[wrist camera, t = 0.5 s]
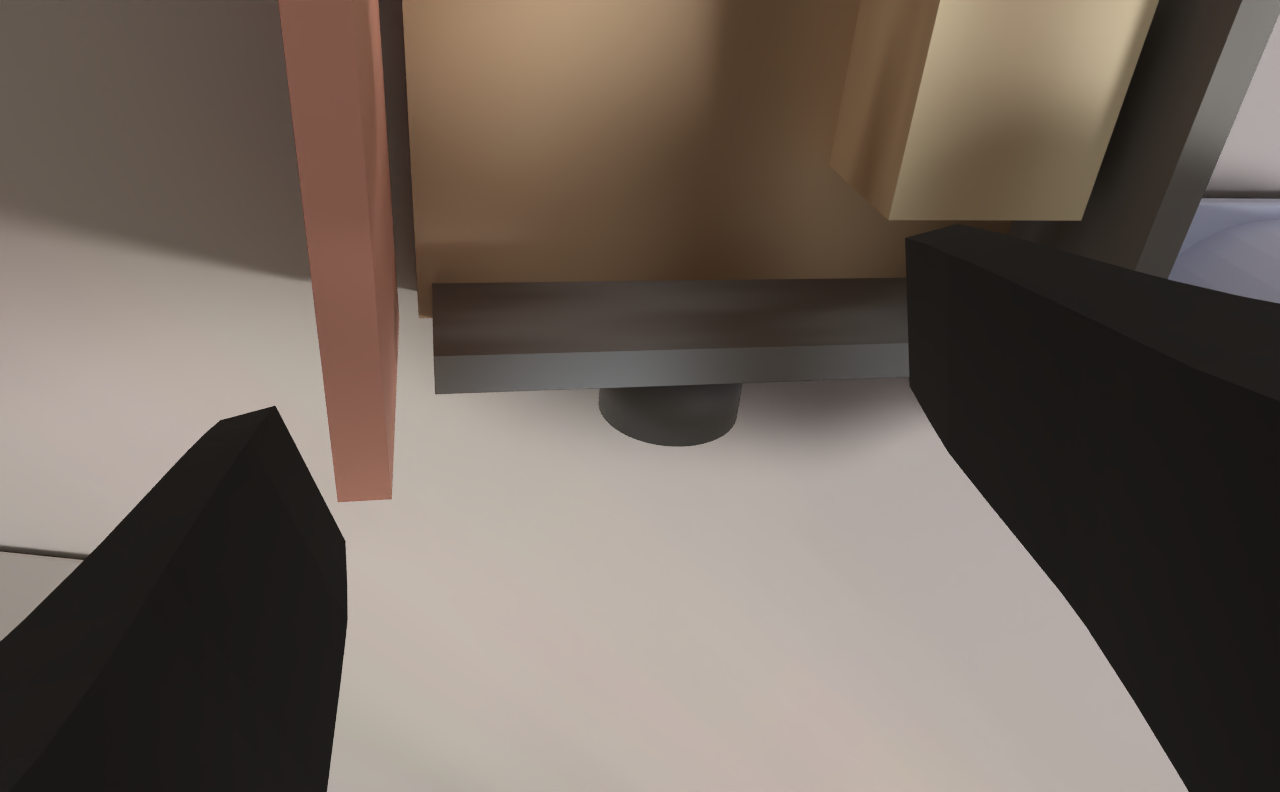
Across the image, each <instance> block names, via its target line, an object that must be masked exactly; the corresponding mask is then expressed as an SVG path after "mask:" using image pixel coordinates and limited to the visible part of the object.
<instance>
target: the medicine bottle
mask: <svg viewBox="0 0 1280 792" xmlns="http://www.w3.org/2000/svg"><path fill="white" fill-rule="evenodd" d="M83 561H84V560H77V559H67V558H58V557H48V556H38V555H28V554H19V553H9V552H0V641H1V640H2V639H3V638H5V637H6V636H7V635H8V634H9V633H10V632H11V631H12V630H13V629H14V628H15V627H16V626H18V625H19V624H20V623H21V622H22V621H23V620H24V619H25V618H26V617H27V616H28V615H29V614H30V613H31V612H32V611H33V610H34V609H35V608H36V607H37V606H38V605H39V604H40V603H41V602H42V601H43V600H44V599H45V598H46V597H47V596H48V595H49V594H50V593H51V592H52V591H53V590H54V589H55V588H56V587H57V586H58V585H59V584H60V583H61V582H62V581H63V580H64V579H66V578H67V577H68V576H69V575H70V574H71V573H72V572H73V571H74V570H75V569H76V568H77V567H78V566H79V565H80V564H81V563H82V562H83Z"/></svg>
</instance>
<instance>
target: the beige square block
mask: <svg viewBox="0 0 1280 792" xmlns="http://www.w3.org/2000/svg"><path fill="white" fill-rule="evenodd" d="M1158 2H1159V0H861V2H860V7H859V13H858V18H857V23H856V28H855V33H854V39H853V44H852V49H851V54H850V59H849V64H848V70H847V75H846V80H845V85H844V90H843V95H842V101H841V106H840V111H839V116H838V121H837V126H836V132H835V137H834V142H833V147H832V152H831V158H830V163H829V166H830V167H831V168H832V169H833V170H834V171H835V172H836V173H838V174H839V175H840V176H841V177H842V178H843V179H844V180H845V181H846V182H847V183H848V184H850V185H851V186H852V187H853V188H854V189H855V190H856V191H857V192H858V193H859V194H860V195H862V196H863V197H864V198H865V199H866V200H867V201H868V202H869V203H870V204H871V205H872V206H873V207H875V208H876V209H877V210H878V211H879V212H880V213H881V214H882V215H883V216H884V217H885V218H887V219H888V220H1045V221H1081V220H1082V217H1083V214H1084V211H1085V208H1086V206H1087V203H1088V200H1089V197H1090V194H1091V191H1092V189H1093V186H1094V183H1095V180H1096V177H1097V174H1098V172H1099V169H1100V166H1101V163H1102V160H1103V157H1104V155H1105V152H1106V149H1107V146H1108V143H1109V141H1110V138H1111V135H1112V132H1113V129H1114V126H1115V124H1116V121H1117V118H1118V115H1119V112H1120V109H1121V107H1122V104H1123V101H1124V98H1125V95H1126V92H1127V90H1128V87H1129V84H1130V81H1131V78H1132V75H1133V73H1134V70H1135V67H1136V64H1137V61H1138V58H1139V56H1140V53H1141V50H1142V47H1143V44H1144V41H1145V39H1146V36H1147V33H1148V30H1149V27H1150V24H1151V22H1152V19H1153V16H1154V13H1155V10H1156V7H1157V5H1158Z"/></svg>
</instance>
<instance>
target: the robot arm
mask: <svg viewBox="0 0 1280 792" xmlns="http://www.w3.org/2000/svg"><path fill="white" fill-rule="evenodd" d="M905 252H906V284H907V316H908V348H909V381H910V387H911V389H912V391H913V393H914V395H915V396H916V398H917V400H918V402H919V403H920V405H921V407H922V409H923V411H924V412H925V414H926V416H927V418H928V419H929V421H930V423H931V425H932V426H933V428H934V430H935V431H936V433H937V434H938V436H939V438H940V439H941V441H942V443H943V444H944V446H945V448H946V449H947V451H948V452H949V454H950V455H951V456H952V457H953V459H954V460H955V461H956V463H957V464H958V465H959V467H960V468H961V469H962V470H963V472H964V473H965V474H966V475H967V477H968V478H969V479H970V480H971V482H972V483H973V484H974V485H975V487H976V488H977V489H978V490H979V492H980V493H981V494H982V495H983V497H984V498H985V499H986V501H987V502H988V503H989V504H990V505H991V507H992V508H993V509H994V510H995V512H996V513H997V514H998V515H999V517H1000V518H1001V519H1002V520H1003V521H1004V523H1005V524H1006V525H1007V526H1008V528H1009V529H1010V530H1011V531H1012V533H1013V534H1014V535H1015V536H1016V537H1017V539H1018V540H1019V541H1020V542H1021V544H1022V545H1023V546H1024V547H1025V549H1026V550H1027V551H1028V552H1029V553H1030V555H1031V556H1032V557H1033V558H1034V560H1035V561H1036V562H1037V563H1038V565H1039V566H1040V567H1041V568H1042V569H1043V571H1044V572H1045V573H1046V574H1047V576H1048V577H1049V578H1050V579H1051V581H1052V582H1053V583H1054V584H1055V585H1056V587H1057V588H1058V589H1059V590H1060V592H1061V593H1062V594H1063V596H1064V597H1065V598H1066V600H1067V601H1068V602H1069V604H1070V605H1071V607H1072V608H1073V609H1074V611H1075V612H1076V613H1077V615H1078V616H1079V617H1080V619H1081V620H1082V621H1083V623H1084V624H1085V626H1086V627H1087V629H1088V630H1089V632H1090V633H1091V635H1092V636H1093V638H1094V639H1095V641H1096V643H1097V644H1098V646H1099V647H1100V649H1101V650H1102V652H1103V653H1104V655H1105V657H1106V658H1107V660H1108V661H1109V663H1110V664H1111V666H1112V667H1113V669H1114V671H1115V672H1116V674H1117V675H1118V677H1119V678H1120V680H1121V681H1122V683H1123V685H1124V686H1125V688H1126V689H1127V691H1128V692H1129V694H1130V695H1131V697H1132V699H1133V700H1134V702H1135V703H1136V705H1137V707H1138V708H1139V710H1140V712H1141V713H1142V715H1143V717H1144V718H1145V720H1146V721H1147V723H1148V725H1149V726H1150V728H1151V730H1152V731H1153V733H1154V735H1155V736H1156V738H1157V740H1158V741H1159V743H1160V745H1161V746H1162V748H1163V749H1164V751H1165V753H1166V754H1167V756H1168V758H1169V759H1170V761H1171V763H1172V764H1173V766H1174V768H1175V769H1176V771H1177V773H1178V774H1179V776H1180V778H1181V779H1182V781H1183V782H1184V784H1185V786H1186V788H1187V789H1188V791H1189V792H1280V199H1234V198H1202V199H1201V201H1200V204H1199V206H1198V208H1197V211H1196V213H1195V216H1194V218H1193V220H1192V223H1191V225H1190V227H1189V230H1188V232H1187V235H1186V237H1185V239H1184V242H1183V244H1182V246H1181V249H1180V251H1179V254H1178V256H1177V258H1176V261H1175V263H1174V265H1173V268H1172V270H1171V273H1170V275H1169V277H1168V279H1165V278H1161V277H1157V276H1153V275H1149V274H1146V273H1142V272H1138V271H1134V270H1130V269H1127V268H1123V267H1119V266H1116V265H1112V264H1108V263H1105V262H1101V261H1098V260H1094V259H1091V258H1087V257H1084V256H1080V255H1077V254H1073V253H1070V252H1066V251H1063V250H1059V249H1056V248H1052V247H1049V246H1045V245H1042V244H1038V243H1035V242H1031V241H1028V240H1024V239H1021V238H1017V237H1013V236H1010V235H1006V234H1002V233H998V232H994V231H990V230H986V229H982V228H977V227H972V226H966V225H960V224H955V225H951V226H947V227H944V228H940V229H936V230H932V231H929V232H925V233H921V234H917V235H914V236H910V237H906V238H905ZM347 619H348V618H347V570H346V547H345V540H344V538H343V536H342V534H341V532H340V530H339V528H338V526H337V524H336V522H335V520H334V518H333V516H332V515H331V513H330V511H329V509H328V507H327V505H326V503H325V501H324V499H323V497H322V495H321V493H320V491H319V489H318V487H317V485H316V484H315V482H314V480H313V478H312V476H311V474H310V472H309V470H308V468H307V466H306V464H305V462H304V460H303V458H302V456H301V454H300V453H299V451H298V449H297V447H296V445H295V443H294V441H293V439H292V437H291V435H290V433H289V431H288V429H287V427H286V425H285V423H284V422H283V420H282V418H281V416H280V414H279V412H278V410H277V408H276V406H273V407H269V408H265V409H261V410H258V411H254V412H250V413H246V414H243V415H239V416H235V417H231V418H228V419H224V420H220V421H219V422H218V423H217V424H216V425H214V426H213V427H212V428H211V429H210V430H209V431H207V432H206V433H205V434H204V435H203V436H202V437H201V438H200V439H199V440H198V441H197V442H196V443H195V444H194V445H193V446H192V447H191V448H190V449H189V450H188V451H187V452H186V453H185V454H184V455H183V456H182V457H181V458H180V459H179V461H178V462H177V463H176V464H175V465H174V466H173V467H172V468H171V469H170V470H169V471H168V472H167V473H166V474H165V475H164V477H163V478H162V479H161V480H160V481H159V482H158V483H157V484H156V485H155V486H154V487H153V488H152V489H151V491H150V492H149V493H148V494H147V495H146V496H145V497H144V498H143V499H142V500H141V501H140V502H139V503H138V504H137V505H136V507H135V508H134V509H133V510H132V511H131V512H130V513H129V514H128V515H127V516H126V517H125V518H124V519H123V520H122V521H121V522H120V524H119V525H118V526H117V527H116V528H115V529H114V530H113V531H112V532H111V533H110V534H109V535H108V536H107V537H106V538H105V540H104V541H103V542H102V543H101V544H100V545H99V546H98V547H97V548H96V549H95V550H94V551H93V552H92V553H91V554H90V555H89V556H88V557H87V558H86V559H85V560H84V561H83V562H82V563H81V564H80V565H79V566H78V567H77V568H76V569H75V570H74V571H73V572H72V573H71V574H70V575H69V576H68V577H67V578H66V579H64V580H63V581H62V582H61V583H60V584H59V585H58V586H57V587H56V588H55V589H54V590H53V591H52V592H51V593H50V594H49V595H48V596H47V597H46V598H45V599H44V600H43V601H42V602H41V603H40V604H39V605H38V606H37V607H36V608H35V609H34V610H33V611H32V612H31V613H30V614H29V615H28V616H27V617H26V618H25V619H24V620H23V621H22V622H21V623H20V624H19V625H18V626H16V627H15V628H14V629H13V630H12V631H11V632H10V633H9V634H8V635H7V636H6V637H5V638H3V639H2V640H1V641H0V792H327V786H328V778H329V770H330V762H331V754H332V746H333V738H334V730H335V722H336V714H337V706H338V698H339V690H340V682H341V673H342V665H343V656H344V647H345V639H346V629H347Z"/></svg>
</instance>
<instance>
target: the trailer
mask: <svg viewBox="0 0 1280 792" xmlns="http://www.w3.org/2000/svg"><path fill="white" fill-rule="evenodd" d="M860 2H861V0H402V8H403V27H404V46H405V65H406V84H407V103H408V122H409V141H410V160H411V179H412V198H413V217H414V236H415V255H416V274H417V293H418V312H419V318H433V350H434V376H435V394H454V393H481V392H509V391H537V390H565V389H592V388H600V392H599V409H600V411H601V414H602V415H603V417H604V418H605V420H606V421H607V422H608V423H609V424H610V425H611V426H613V427H614V428H615V429H617V430H618V431H620V432H621V433H623V434H625V435H627V436H629V437H632V438H634V439H637V440H640V441H643V442H647V443H651V444H656V445H663V446H693V445H699V444H703V443H707V442H710V441H713V440H715V439H718V438H719V437H721V436H723V435H724V434H726V433H727V432H728V431H729V430H730V429H731V428H732V427H733V425H734V424H735V421H736V418H737V412H738V406H739V400H740V394H741V388H742V383H758V382H786V381H814V380H841V379H869V378H897V377H909V348H908V316H907V284H906V252H905V238H906V237H910V236H914V235H917V234H921V233H925V232H929V231H932V230H936V229H940V228H944V227H947V226H951V225H955V224H960V225H966V226H972V227H977V228H982V229H986V230H990V231H994V232H998V233H1002V234H1006V235H1010V236H1013V237H1017V238H1021V239H1024V240H1028V241H1031V242H1035V243H1038V244H1042V245H1045V246H1049V247H1052V248H1056V249H1059V250H1063V251H1066V252H1070V253H1073V254H1077V255H1080V256H1084V257H1087V258H1091V259H1094V260H1098V261H1101V262H1105V263H1108V264H1112V265H1116V266H1119V267H1123V268H1127V269H1130V270H1134V271H1138V272H1142V273H1146V274H1149V275H1153V276H1157V277H1161V278H1165V279H1168V277H1169V275H1170V273H1171V270H1172V268H1173V265H1174V263H1175V261H1176V258H1177V256H1178V254H1179V251H1180V249H1181V246H1182V244H1183V242H1184V239H1185V237H1186V235H1187V232H1188V230H1189V227H1190V225H1191V223H1192V220H1193V218H1194V216H1195V213H1196V211H1197V208H1198V206H1199V204H1200V201H1201V199H1202V197H1203V194H1204V192H1205V189H1206V187H1207V185H1208V182H1209V180H1210V178H1211V175H1212V173H1213V170H1214V168H1215V166H1216V163H1217V161H1218V159H1219V156H1220V154H1221V151H1222V149H1223V147H1224V144H1225V142H1226V140H1227V137H1228V135H1229V132H1230V130H1231V128H1232V125H1233V123H1234V120H1235V118H1236V116H1237V113H1238V111H1239V109H1240V106H1241V104H1242V101H1243V99H1244V97H1245V94H1246V92H1247V90H1248V87H1249V85H1250V82H1251V80H1252V78H1253V75H1254V73H1255V71H1256V68H1257V66H1258V63H1259V61H1260V59H1261V56H1262V54H1263V52H1264V49H1265V47H1266V44H1267V42H1268V40H1269V37H1270V35H1271V33H1272V30H1273V28H1274V25H1275V23H1276V21H1277V18H1278V16H1279V14H1280V0H1159V2H1158V5H1157V7H1156V10H1155V13H1154V16H1153V19H1152V22H1151V24H1150V27H1149V30H1148V33H1147V36H1146V39H1145V41H1144V44H1143V47H1142V50H1141V53H1140V56H1139V58H1138V61H1137V64H1136V67H1135V70H1134V73H1133V75H1132V78H1131V81H1130V84H1129V87H1128V90H1127V92H1126V95H1125V98H1124V101H1123V104H1122V107H1121V109H1120V112H1119V115H1118V118H1117V121H1116V124H1115V126H1114V129H1113V132H1112V135H1111V138H1110V141H1109V143H1108V146H1107V149H1106V152H1105V155H1104V157H1103V160H1102V163H1101V166H1100V169H1099V172H1098V174H1097V177H1096V180H1095V183H1094V186H1093V189H1092V191H1091V194H1090V197H1089V200H1088V203H1087V206H1086V208H1085V211H1084V214H1083V217H1082V220H1081V221H1045V220H888V219H887V218H885V217H884V216H883V215H882V214H881V213H880V212H879V211H878V210H877V209H876V208H875V207H873V206H872V205H871V204H870V203H869V202H868V201H867V200H866V199H865V198H864V197H863V196H862V195H860V194H859V193H858V192H857V191H856V190H855V189H854V188H853V187H852V186H851V185H850V184H848V183H847V182H846V181H845V180H844V179H843V178H842V177H841V176H840V175H839V174H838V173H836V172H835V171H834V170H833V169H832V168H831V167H830V166H829V163H830V158H831V152H832V147H833V142H834V137H835V132H836V126H837V121H838V116H839V111H840V106H841V101H842V95H843V90H844V85H845V80H846V75H847V70H848V64H849V59H850V54H851V49H852V44H853V39H854V33H855V28H856V23H857V18H858V13H859V7H860Z"/></svg>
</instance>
